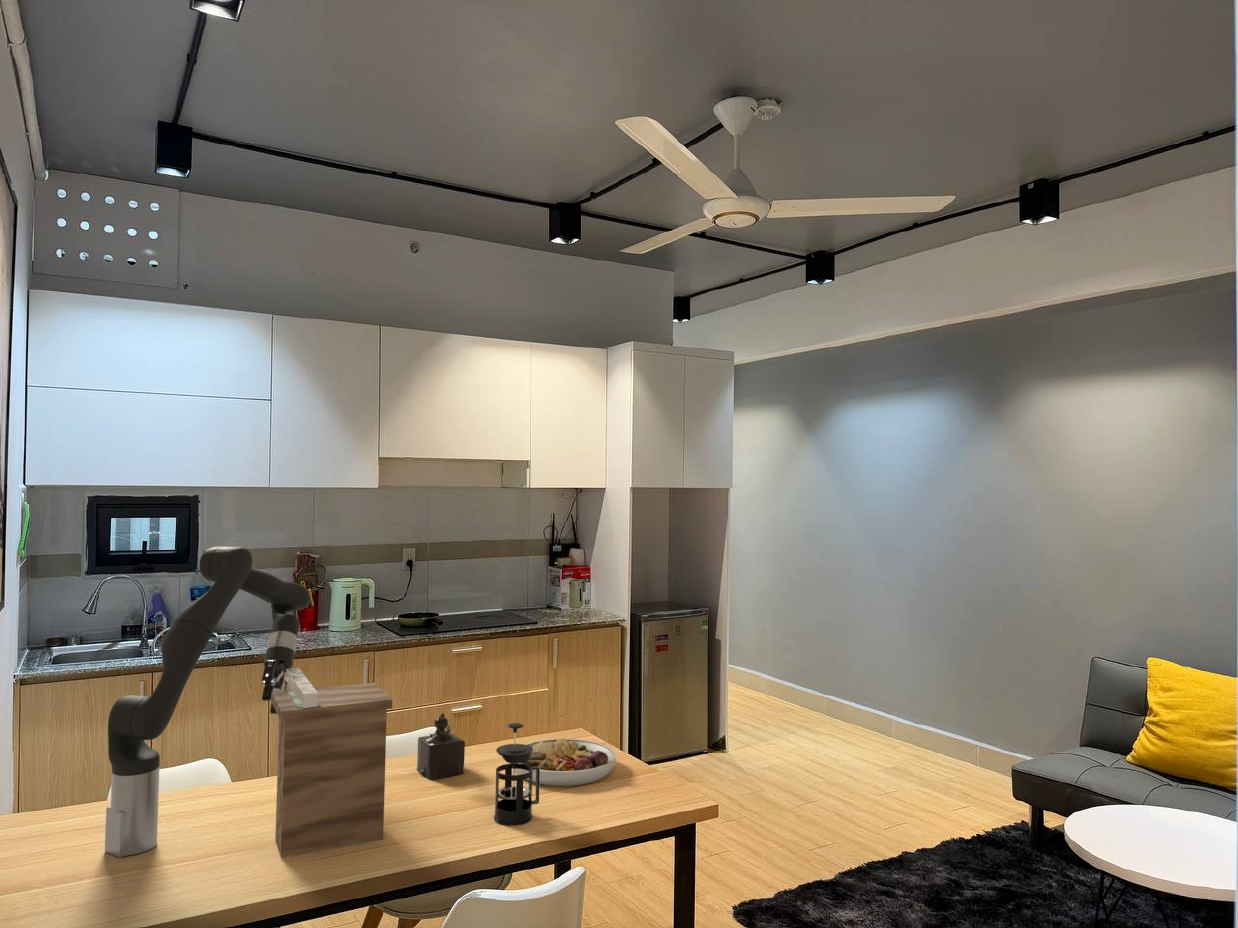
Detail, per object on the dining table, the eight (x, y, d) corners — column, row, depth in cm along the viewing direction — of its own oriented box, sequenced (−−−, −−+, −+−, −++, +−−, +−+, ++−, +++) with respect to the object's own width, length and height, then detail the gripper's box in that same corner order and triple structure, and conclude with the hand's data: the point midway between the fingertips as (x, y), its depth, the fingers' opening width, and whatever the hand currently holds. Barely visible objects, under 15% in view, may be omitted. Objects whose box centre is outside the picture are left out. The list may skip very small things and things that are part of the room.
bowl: (489, 777, 234) (490, 749, 234) (547, 749, 260) (548, 723, 260) (581, 798, 220) (582, 767, 220) (633, 765, 246) (633, 738, 246)
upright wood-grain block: (388, 839, 191) (392, 698, 192) (276, 860, 179) (281, 710, 180) (371, 812, 207) (374, 682, 208) (267, 829, 195) (271, 691, 196)
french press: (498, 828, 198) (500, 731, 199) (486, 814, 207) (488, 721, 207) (544, 821, 203) (546, 726, 204) (531, 807, 212) (533, 716, 212)
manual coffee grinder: (413, 770, 238) (415, 707, 238) (449, 763, 244) (451, 701, 245) (435, 786, 225) (437, 719, 226) (472, 779, 231) (474, 714, 232)
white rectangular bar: (317, 706, 184) (317, 692, 184) (303, 707, 182) (303, 694, 183) (298, 679, 208) (299, 667, 209) (285, 681, 207) (286, 668, 207)
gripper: (288, 638, 226) (278, 695, 216) (300, 661, 237) (291, 716, 227) (260, 639, 225) (248, 696, 215) (273, 663, 236) (262, 718, 226)
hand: (270, 706), depth 221 cm, fingers open, 8 cm apart
